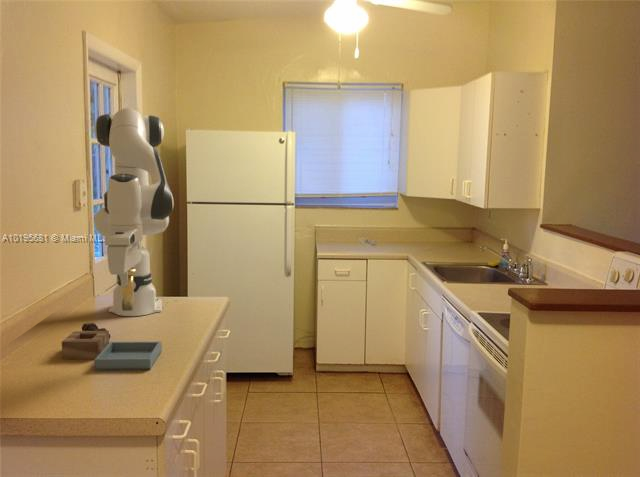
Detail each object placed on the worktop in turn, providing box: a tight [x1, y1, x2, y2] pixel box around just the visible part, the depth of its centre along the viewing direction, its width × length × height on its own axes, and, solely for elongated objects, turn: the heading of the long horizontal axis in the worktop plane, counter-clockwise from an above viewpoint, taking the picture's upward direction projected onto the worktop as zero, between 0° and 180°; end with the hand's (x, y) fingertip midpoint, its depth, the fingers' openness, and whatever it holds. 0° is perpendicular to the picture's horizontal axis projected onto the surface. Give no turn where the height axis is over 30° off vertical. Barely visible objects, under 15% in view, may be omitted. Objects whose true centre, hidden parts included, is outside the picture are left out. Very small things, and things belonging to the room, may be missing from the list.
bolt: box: [81, 322, 111, 340], centre depth 179 cm, size 6×5×15 cm
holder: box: [61, 330, 110, 360], centre depth 167 cm, size 10×10×5 cm
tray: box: [94, 341, 163, 371], centre depth 161 cm, size 15×15×3 cm
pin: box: [121, 268, 136, 311], centre depth 158 cm, size 5×5×11 cm
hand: (127, 284), depth 158 cm, fingers closed on pin, 3 cm apart
